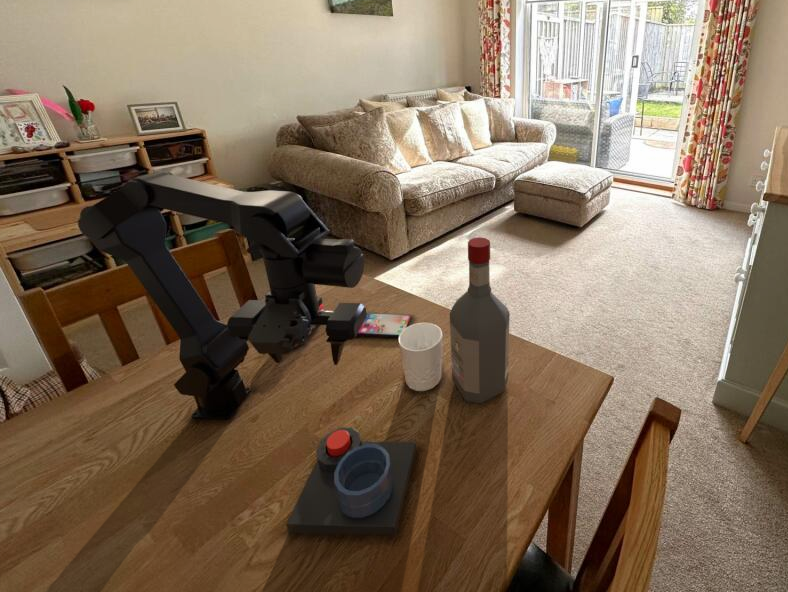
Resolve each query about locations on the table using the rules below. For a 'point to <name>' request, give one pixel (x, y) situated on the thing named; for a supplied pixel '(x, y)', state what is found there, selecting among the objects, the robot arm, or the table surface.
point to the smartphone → (384, 325)
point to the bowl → (363, 480)
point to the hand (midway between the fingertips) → (308, 362)
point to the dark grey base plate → (320, 499)
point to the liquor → (479, 332)
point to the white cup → (421, 355)
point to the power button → (338, 443)
